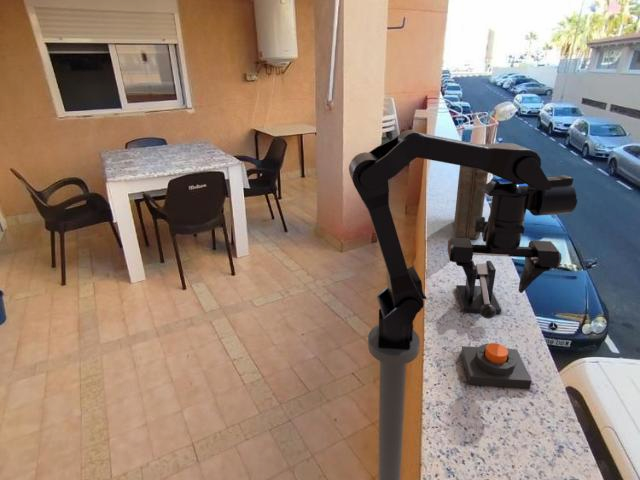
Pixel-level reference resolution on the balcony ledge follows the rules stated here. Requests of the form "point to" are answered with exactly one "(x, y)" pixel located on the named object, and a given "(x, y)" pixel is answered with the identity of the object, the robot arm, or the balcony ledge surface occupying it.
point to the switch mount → (478, 292)
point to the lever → (484, 292)
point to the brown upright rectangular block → (469, 201)
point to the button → (496, 353)
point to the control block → (495, 369)
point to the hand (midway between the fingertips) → (494, 290)
